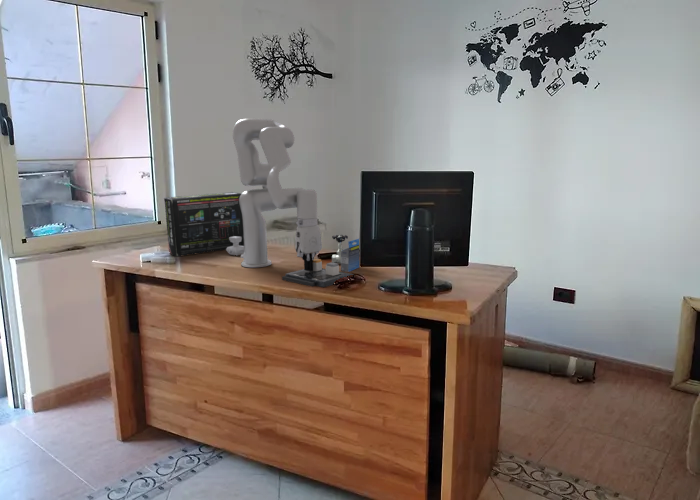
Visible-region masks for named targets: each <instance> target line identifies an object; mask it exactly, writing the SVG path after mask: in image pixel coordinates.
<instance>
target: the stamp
mask: <svg viewBox="0 0 700 500" xmlns="http://www.w3.org/2000/svg"><path fill="white" fill-rule="evenodd" d="M229 240H230V242H233V246H230V247H227V248H226V250H225V251H226V252H227V253H228V254H229V255H231V256H235V255H236V256H237V257H238V256H241V255H243V254H244V246H239V242H241V240H242V237H238V236H233V237H229Z"/></svg>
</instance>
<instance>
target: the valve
mask: <svg viewBox="0 0 700 500" xmlns="http://www.w3.org/2000/svg"><path fill="white" fill-rule="evenodd" d="M348 238H349V236H348V234H344V235H343V234H340V235H339V234H335V235H332V239H333V240H335V241H336V242H337V243H338V244H337V248H338V249H337V250H336V254H332V256H331V262H332V263H337V264H338V265H341V251H342V250H343V244H342V243H343V242H345V240H346V239H347V240H348Z"/></svg>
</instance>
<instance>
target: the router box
mask: <svg viewBox="0 0 700 500" xmlns="http://www.w3.org/2000/svg"><path fill="white" fill-rule="evenodd" d="M241 194H242V192H241V193H239V192H235V191H234V192H233V191H230V192H219V193H218V192H217V193H206V194H192V195H190V194H189V195H181V196H179V195H178V196H170V197H169V196H167V197H164V198H163V200H164V208H165V219H166V230H167V242H168V243H167V244H168V251H169V252H170V253H171V254H172V256H174V257H182V256H181V255H184V256H188V255H187V254H192V255H196V254H195V253H199V254H204V253H203V252H206V253H211V252H218V251H226V248H227V247H230V246H233V242H230V240H229V237H233V236H238V237H242V240H241V242H239V246H244V234H243V219H242V212H241V208H240V204H239V198H240V195H241ZM170 253H169V254H170ZM171 254H170V255H171Z"/></svg>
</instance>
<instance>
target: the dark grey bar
mask: <svg viewBox="0 0 700 500" xmlns="http://www.w3.org/2000/svg"><path fill="white" fill-rule="evenodd" d="M281 279H282V281H285V280H286V281H285V282H289V283H290V282H291V283H295V284H299V285H304V286H308V287H312V288H313V287H315V282H310V281H306V280H301V279H296V278H292V277H287V276H285V275H282V276H281Z"/></svg>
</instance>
